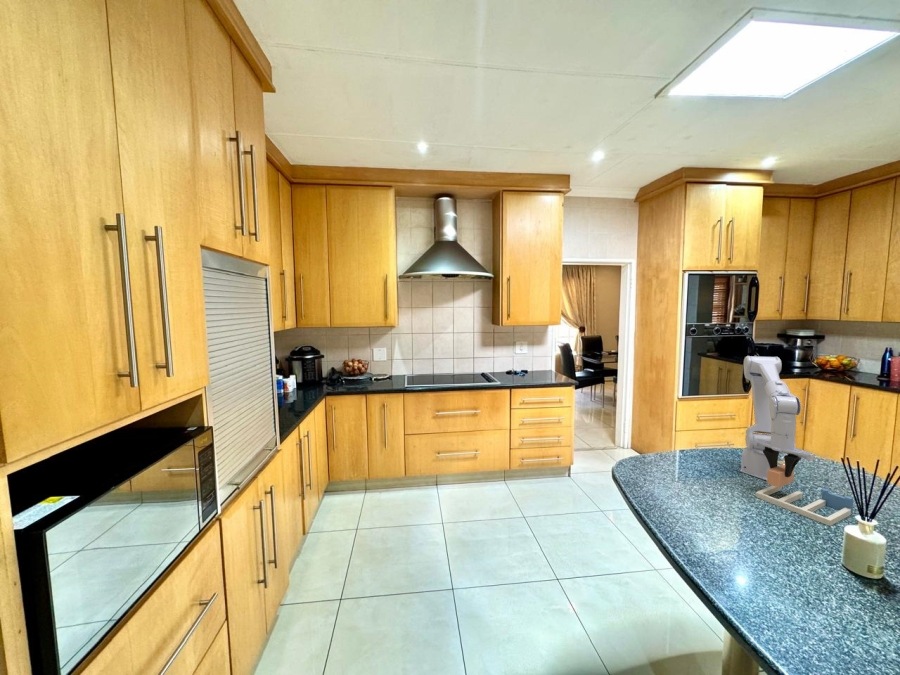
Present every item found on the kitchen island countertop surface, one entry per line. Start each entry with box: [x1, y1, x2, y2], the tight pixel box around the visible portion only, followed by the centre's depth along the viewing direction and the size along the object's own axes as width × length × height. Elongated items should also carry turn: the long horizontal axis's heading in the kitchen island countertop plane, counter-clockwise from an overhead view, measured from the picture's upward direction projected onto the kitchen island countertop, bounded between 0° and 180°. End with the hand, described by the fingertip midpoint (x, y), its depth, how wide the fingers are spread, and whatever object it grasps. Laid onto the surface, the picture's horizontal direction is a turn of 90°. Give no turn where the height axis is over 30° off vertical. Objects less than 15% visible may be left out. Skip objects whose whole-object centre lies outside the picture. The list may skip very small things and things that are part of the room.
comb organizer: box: [755, 485, 852, 527], centre depth 109 cm, size 17×13×2 cm
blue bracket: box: [820, 487, 854, 515], centre depth 106 cm, size 6×2×5 cm, turn 24°
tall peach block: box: [766, 464, 795, 488], centre depth 113 cm, size 3×9×4 cm, turn 114°
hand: (780, 473), depth 113 cm, fingers closed on tall peach block, 3 cm apart
